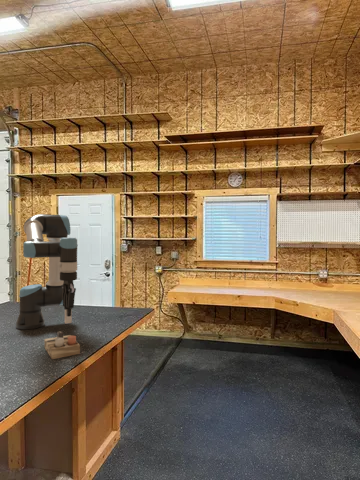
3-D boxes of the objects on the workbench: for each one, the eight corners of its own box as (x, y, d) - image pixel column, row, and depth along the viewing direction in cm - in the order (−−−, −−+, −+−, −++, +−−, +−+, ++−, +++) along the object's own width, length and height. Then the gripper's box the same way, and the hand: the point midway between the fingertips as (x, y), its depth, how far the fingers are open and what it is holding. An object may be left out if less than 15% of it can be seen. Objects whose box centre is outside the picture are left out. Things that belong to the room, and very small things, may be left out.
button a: (66, 343, 146) (66, 336, 146) (74, 341, 148) (74, 335, 148) (68, 345, 143) (69, 338, 143) (76, 344, 145) (77, 337, 145)
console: (44, 347, 150) (44, 338, 150) (70, 342, 157) (70, 334, 157) (51, 359, 137) (52, 349, 137) (79, 353, 144) (79, 344, 144)
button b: (54, 345, 143) (54, 338, 143) (62, 344, 145) (62, 337, 145) (56, 348, 140) (56, 340, 140) (64, 346, 142) (64, 339, 142)
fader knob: (57, 337, 151) (57, 331, 151) (61, 337, 152) (61, 330, 152) (58, 339, 149) (58, 333, 149) (63, 338, 150) (63, 332, 150)
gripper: (55, 270, 148) (55, 320, 148) (64, 273, 137) (64, 327, 138) (71, 269, 152) (71, 318, 153) (81, 272, 142) (81, 324, 142)
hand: (68, 322), depth 145 cm, fingers closed
